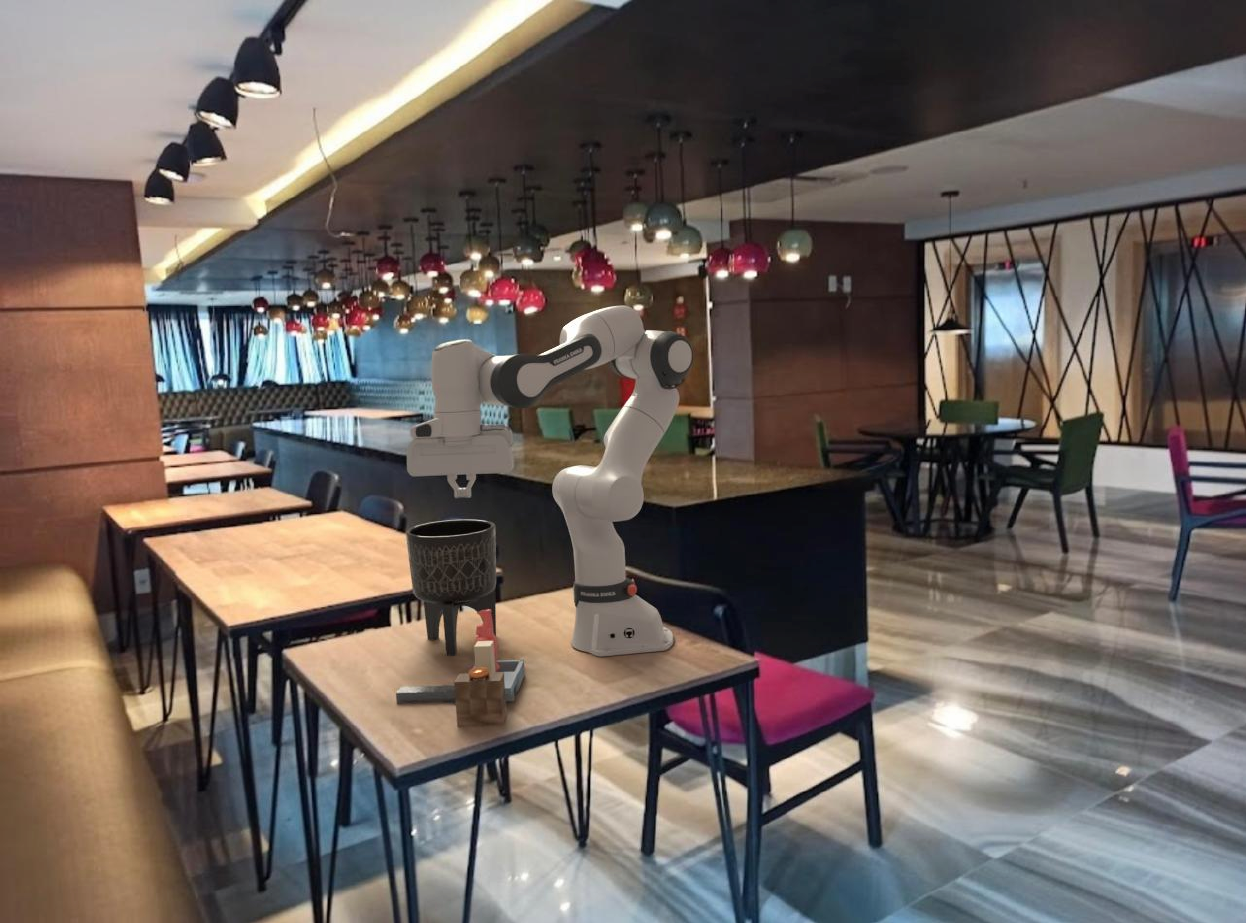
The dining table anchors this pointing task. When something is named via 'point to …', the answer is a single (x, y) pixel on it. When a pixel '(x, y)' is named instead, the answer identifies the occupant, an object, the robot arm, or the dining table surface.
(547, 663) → the dining table surface
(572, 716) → the dining table surface
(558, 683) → the dining table surface
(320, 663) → the dining table surface
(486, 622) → the figurine
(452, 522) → the planter
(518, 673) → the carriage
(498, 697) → the box
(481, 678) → the button
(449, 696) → the rail
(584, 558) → the robot arm
